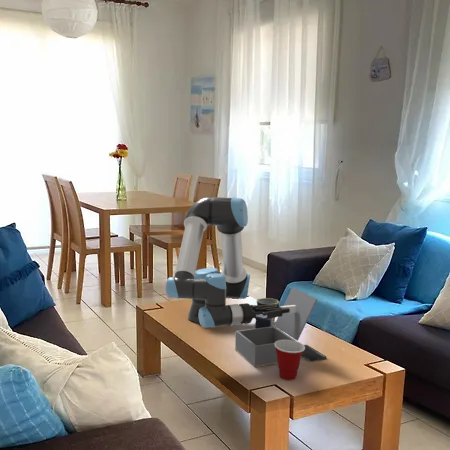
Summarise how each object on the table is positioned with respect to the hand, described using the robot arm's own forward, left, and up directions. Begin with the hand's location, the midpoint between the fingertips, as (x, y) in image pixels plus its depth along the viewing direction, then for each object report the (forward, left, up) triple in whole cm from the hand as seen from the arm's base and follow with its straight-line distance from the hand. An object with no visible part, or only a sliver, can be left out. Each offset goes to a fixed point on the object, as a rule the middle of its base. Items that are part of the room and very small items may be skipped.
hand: (295, 308), depth 221 cm
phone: (+3, +5, -18) cm, 19 cm away
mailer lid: (-1, 0, -2) cm, 2 cm away
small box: (-18, -4, -18) cm, 26 cm away
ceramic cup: (-39, +7, -18) cm, 43 cm away
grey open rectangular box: (-1, -12, -18) cm, 22 cm away
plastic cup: (+20, -13, -18) cm, 30 cm away
